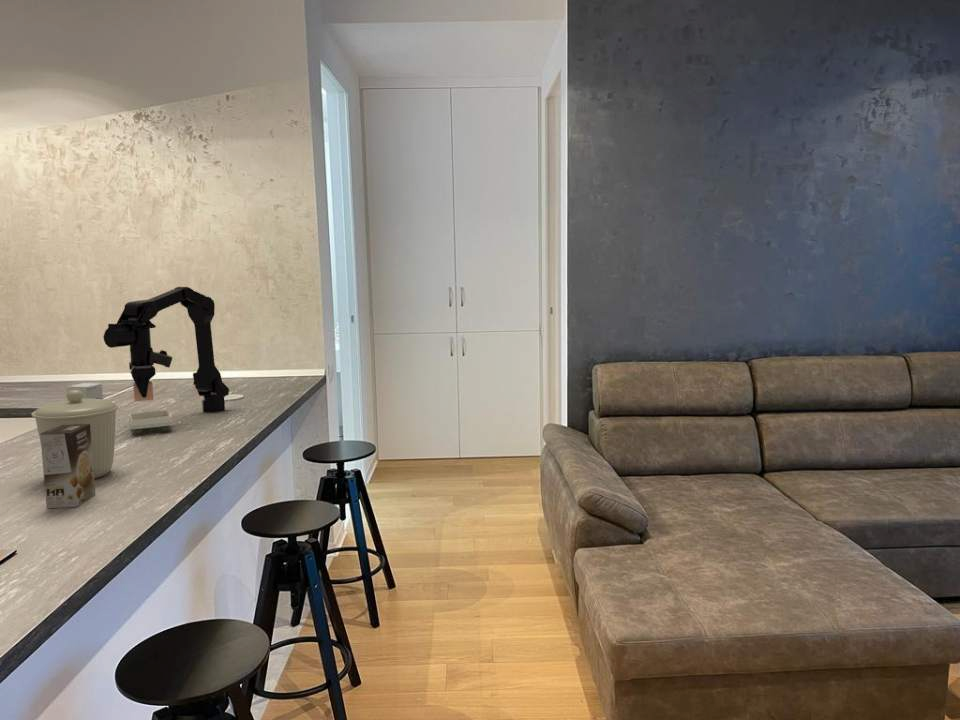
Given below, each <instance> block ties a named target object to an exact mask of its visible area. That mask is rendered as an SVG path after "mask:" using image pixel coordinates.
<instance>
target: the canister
mask: <svg viewBox="0 0 960 720" xmlns="http://www.w3.org/2000/svg"><path fill="white" fill-rule="evenodd" d="M65 395H66V396H65V397H66V399H67V400H60V401H54V402H50V403H47V404H44V405H42V406H40V407H38V408H37V409H36V410H34V411H32V412H31V417H32V418H35V423H36V428H37V432H38V437H39V440H40V443H41V436H40V434H41V433H43V432H46V431H48V430H50V429H53V428H55V427H58V426H60V425H70V424H90V430H91V442H92V455H93V468H94V480H95V479H98V478H102V477H103V476H106V474H108V473H109V472H110V471H111V469H112V468H113V464H114V455H115V444H116V443H115V439H116V417H117V416H116V414H117V412H116V411H117V410H118V409H119V405H118V404H117V403H113V401H111V400H108V399H105V398H103V399H83V393H82V392H81V391H80V390H71V391H69V392H68V393H67V392H66V394H65Z"/></svg>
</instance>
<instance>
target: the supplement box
mask: <svg viewBox="0 0 960 720" xmlns="http://www.w3.org/2000/svg"><path fill="white" fill-rule="evenodd" d="M71 390H80V391H81V392H82V393H83V399H104V396H103V395H104V394H103V393H104V392H103V385H102V383H101V382H100V383H99V382H98V383H97V382H82V383H77V384H73V385H68V386H66V394H67V393H68V392H69V391H71Z"/></svg>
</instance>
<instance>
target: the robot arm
mask: <svg viewBox="0 0 960 720" xmlns="http://www.w3.org/2000/svg"><path fill="white" fill-rule="evenodd" d="M179 303H180V305H181V306H182V307H184V308H186V311H187V314H188V317H189V319H190V320H191V322H192V323H193V325H194V332H195V342H196V353H197V359H198V360H197V362H198V369H197V370H196V372H193V373H192V379H193V385H194V386H195V389H196V390H197V393H198V396H199V397H203V399H202V400H201V406H202V407H201V408H202V410H201V411H202V413H217V412H218V413H219V412H222V411H226V405H225V404H226V403H225V397H227V396H229V392H230V388H229V387H228V386H227V385H226V384H225V383H224V382H223V380H222V375H221V372H220V371H219V369H218V367H217V366H216V364H215V355H214V345H213V343H214V342H213V336H212V335H213V334H212V326H211V324H212V320H213V318H214V317H215V301H214V299H212V298H211V297H210V296H207V295H205V294H203V293H200V292H198V291H195V290H193V289H192V288H191V287H188V286H176V287H175V288H173V289H171V290H168V291H166V292H164V293H160V294H158V295H156V296H153V297H151V298H149V299H142V300H141V299H140V300H134V301H129V302H126V303H125V304H124V308H123V311H122V312H121V314H120V316H119V318H118V319H117V322H116V323H108V324H107V327H108V328H106V329H105V330H104V333H103V342H104V343H105V345H106V346H107V347H108V348H111V349H112V348H119V347H120V348H121V347H127V346H128V347H129V352H130V353H129V354H130V355H129V357H130V362H128V368H129V370H130V371H129V372H130V374H131V378H132V379H133V381H134V382H135V384H136V386H137V388H138V390H139V392H140V394H141V396H142V397H146V396H147V390H148V384H149V381H151V379H152V378H153V377H154V376H156V373H157V372H156V367H155V366H154V365H155V364H157V365H161V366H164V368H170V367H171V365H172V362H173V356H171V355H168V351H166V350H164V349H161V350H160V351H153V350H154V349H153V347H152V341H151V329H155V328H156V326H157V325H155V323H153V322H151V320H152V319H153V318H155V317H157V315H158V313H159V312H161V311H163V310H164V309H167V308H170V307H172V306H174V305H177V304H179Z"/></svg>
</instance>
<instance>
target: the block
mask: <svg viewBox="0 0 960 720" xmlns="http://www.w3.org/2000/svg"><path fill="white" fill-rule="evenodd" d="M132 388H133V399H134V402H144V401H153V400H154V388H153V381H151V380H149V384H148V390H147V396H146V397H142V396H141V394H140V392H139V390H138V388H137V386H136V384H135V382H132Z"/></svg>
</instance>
